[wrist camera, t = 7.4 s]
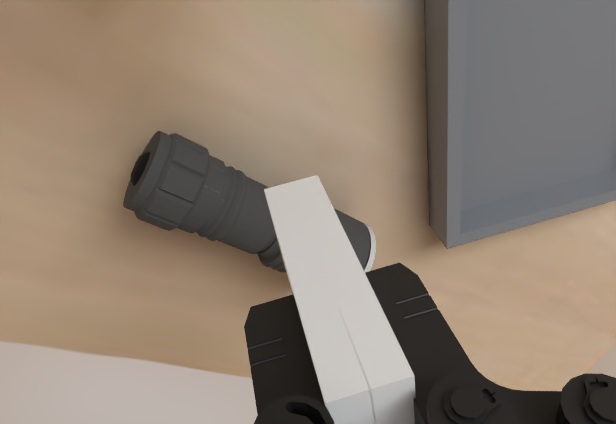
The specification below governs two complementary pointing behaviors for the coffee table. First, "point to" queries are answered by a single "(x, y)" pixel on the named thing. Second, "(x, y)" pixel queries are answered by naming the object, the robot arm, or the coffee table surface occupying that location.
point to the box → (518, 112)
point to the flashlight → (216, 201)
